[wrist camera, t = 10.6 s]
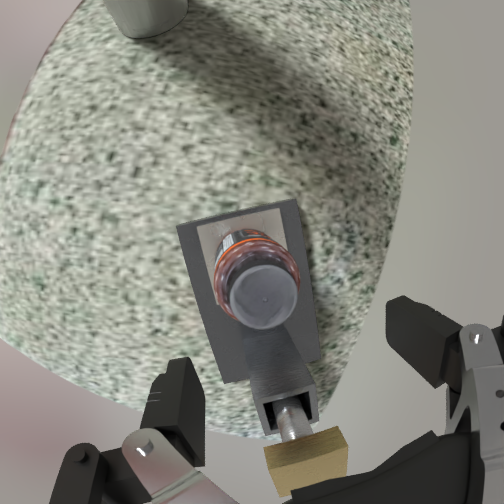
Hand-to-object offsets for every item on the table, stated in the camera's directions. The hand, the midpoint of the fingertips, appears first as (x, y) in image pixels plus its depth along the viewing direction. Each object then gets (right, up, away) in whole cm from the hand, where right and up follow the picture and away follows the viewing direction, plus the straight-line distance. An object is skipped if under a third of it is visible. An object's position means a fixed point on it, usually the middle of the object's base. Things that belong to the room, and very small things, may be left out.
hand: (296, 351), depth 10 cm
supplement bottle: (-2, +3, +17) cm, 17 cm away
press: (-1, -1, +20) cm, 20 cm away
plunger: (+1, -9, +15) cm, 17 cm away
